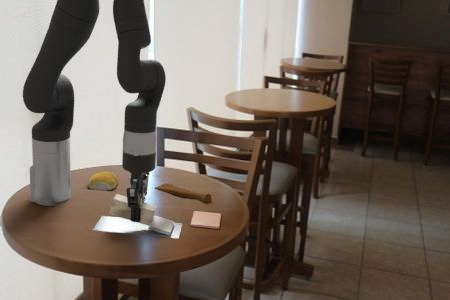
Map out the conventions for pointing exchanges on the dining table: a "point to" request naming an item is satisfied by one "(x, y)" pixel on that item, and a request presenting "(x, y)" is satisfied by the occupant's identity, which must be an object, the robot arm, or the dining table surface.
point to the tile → (206, 219)
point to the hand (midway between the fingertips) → (137, 218)
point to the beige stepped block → (147, 215)
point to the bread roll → (103, 181)
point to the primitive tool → (184, 193)
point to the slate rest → (132, 227)
